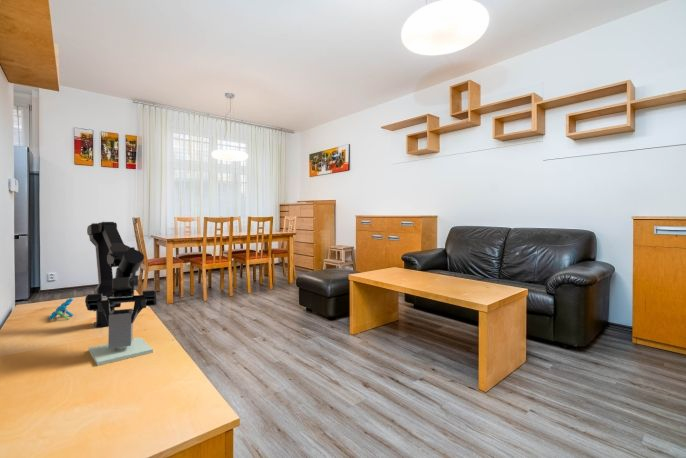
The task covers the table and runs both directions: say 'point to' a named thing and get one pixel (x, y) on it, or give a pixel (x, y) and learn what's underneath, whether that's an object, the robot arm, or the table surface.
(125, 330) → the square open box
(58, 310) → the blue toy figurine
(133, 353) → the pin board
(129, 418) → the table surface
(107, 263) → the robot arm
